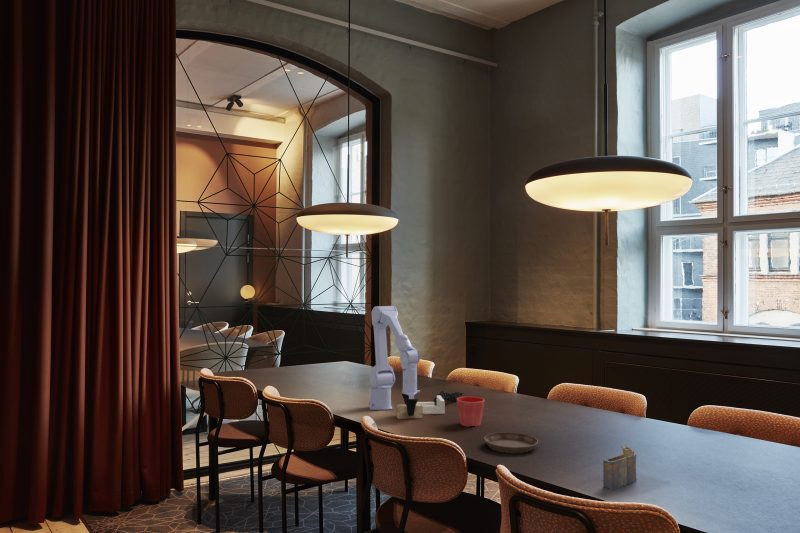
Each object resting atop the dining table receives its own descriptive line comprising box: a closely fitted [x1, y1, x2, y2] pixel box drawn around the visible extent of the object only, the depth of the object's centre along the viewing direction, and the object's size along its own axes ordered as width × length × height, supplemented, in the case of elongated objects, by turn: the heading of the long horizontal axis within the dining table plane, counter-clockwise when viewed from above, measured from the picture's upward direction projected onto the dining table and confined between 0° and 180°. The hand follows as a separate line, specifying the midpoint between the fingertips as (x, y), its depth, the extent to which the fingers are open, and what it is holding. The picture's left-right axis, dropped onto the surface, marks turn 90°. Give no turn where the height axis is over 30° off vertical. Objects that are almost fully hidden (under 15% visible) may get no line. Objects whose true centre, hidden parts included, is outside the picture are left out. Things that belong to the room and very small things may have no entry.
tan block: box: [396, 403, 424, 420], centre depth 247 cm, size 10×4×5 cm, turn 95°
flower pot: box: [456, 396, 485, 427], centre depth 235 cm, size 11×11×10 cm
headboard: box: [416, 394, 446, 415], centre depth 258 cm, size 14×12×5 cm
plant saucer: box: [483, 431, 539, 454], centre depth 203 cm, size 18×18×3 cm
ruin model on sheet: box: [602, 445, 637, 490], centre depth 167 cm, size 11×3×10 cm, turn 127°
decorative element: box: [432, 391, 463, 405], centre depth 273 cm, size 22×5×6 cm, turn 147°
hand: (409, 413), depth 247 cm, fingers open, 7 cm apart
